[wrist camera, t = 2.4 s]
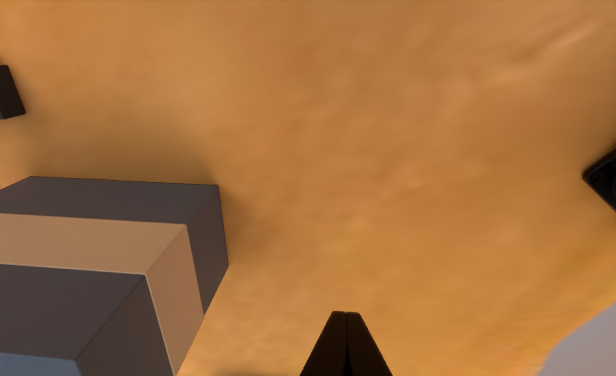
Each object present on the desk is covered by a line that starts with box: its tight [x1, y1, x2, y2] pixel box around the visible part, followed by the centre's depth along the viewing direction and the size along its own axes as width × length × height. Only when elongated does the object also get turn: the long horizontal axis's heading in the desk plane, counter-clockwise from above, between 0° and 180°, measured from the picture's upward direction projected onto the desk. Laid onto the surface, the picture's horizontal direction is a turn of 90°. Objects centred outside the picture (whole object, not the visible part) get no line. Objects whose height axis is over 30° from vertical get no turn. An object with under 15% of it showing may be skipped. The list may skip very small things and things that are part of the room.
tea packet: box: [0, 176, 229, 376], centre depth 17 cm, size 14×7×14 cm, turn 90°
